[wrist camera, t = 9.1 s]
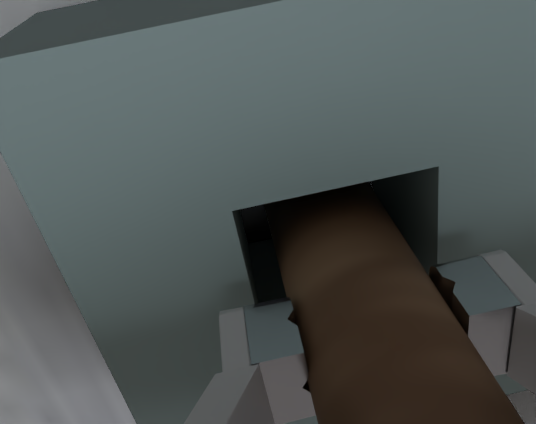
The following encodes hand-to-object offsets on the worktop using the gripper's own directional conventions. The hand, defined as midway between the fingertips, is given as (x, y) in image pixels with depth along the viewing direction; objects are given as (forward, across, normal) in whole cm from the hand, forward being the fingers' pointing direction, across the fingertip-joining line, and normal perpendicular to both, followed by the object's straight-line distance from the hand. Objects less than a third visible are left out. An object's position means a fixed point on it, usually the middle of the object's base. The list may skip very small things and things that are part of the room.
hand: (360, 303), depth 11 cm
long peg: (+5, 0, 0) cm, 5 cm away
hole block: (+6, 0, 0) cm, 6 cm away
